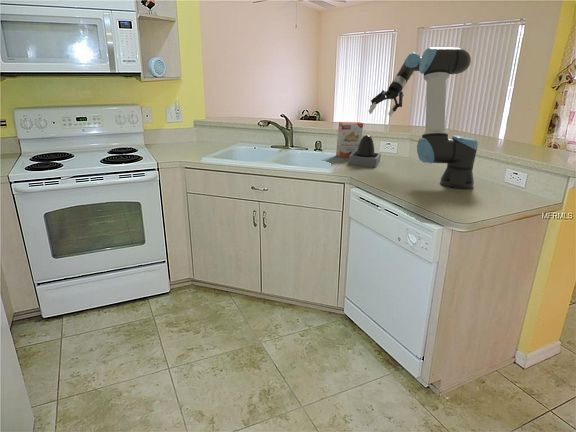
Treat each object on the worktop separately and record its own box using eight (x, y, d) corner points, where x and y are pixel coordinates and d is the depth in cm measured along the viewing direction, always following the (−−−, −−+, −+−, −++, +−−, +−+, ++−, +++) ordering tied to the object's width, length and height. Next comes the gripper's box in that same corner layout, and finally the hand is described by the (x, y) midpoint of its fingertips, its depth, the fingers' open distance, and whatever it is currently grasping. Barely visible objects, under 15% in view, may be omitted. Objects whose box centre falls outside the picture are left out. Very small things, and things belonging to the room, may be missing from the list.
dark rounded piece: (372, 159, 233) (375, 134, 227) (374, 163, 223) (377, 137, 218) (355, 158, 234) (357, 133, 228) (356, 162, 224) (359, 136, 219)
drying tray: (375, 167, 220) (376, 158, 218) (348, 164, 225) (349, 155, 223) (380, 161, 233) (381, 153, 231) (354, 158, 238) (355, 150, 236)
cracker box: (339, 157, 240) (342, 123, 232) (335, 155, 245) (338, 121, 238) (360, 157, 244) (363, 122, 236) (356, 154, 249) (359, 121, 241)
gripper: (417, 92, 224) (400, 120, 220) (381, 89, 241) (364, 115, 236) (414, 82, 219) (396, 111, 214) (377, 80, 235) (359, 107, 231)
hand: (379, 113), depth 225 cm, fingers open, 13 cm apart
